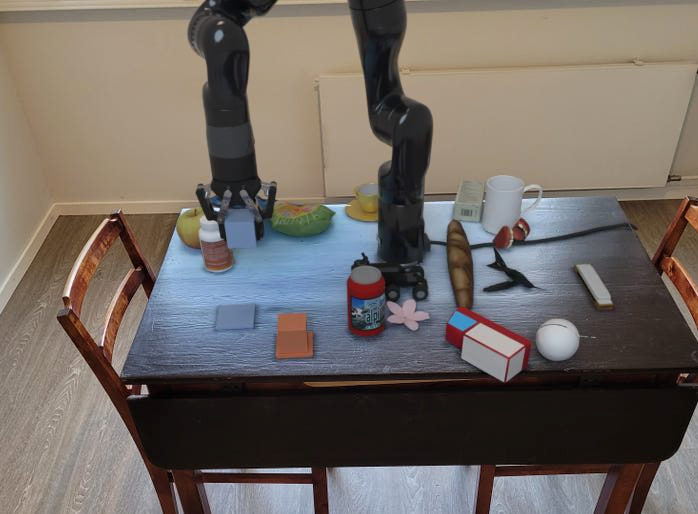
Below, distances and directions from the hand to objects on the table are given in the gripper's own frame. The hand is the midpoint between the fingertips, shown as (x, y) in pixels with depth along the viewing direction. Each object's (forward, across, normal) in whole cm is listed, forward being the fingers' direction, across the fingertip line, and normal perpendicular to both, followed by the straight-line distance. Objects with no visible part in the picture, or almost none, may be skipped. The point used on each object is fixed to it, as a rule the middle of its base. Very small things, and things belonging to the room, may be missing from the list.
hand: (243, 238), depth 124 cm
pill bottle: (+16, -8, +17) cm, 25 cm away
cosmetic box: (+13, +46, +31) cm, 57 cm away
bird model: (+14, +52, +12) cm, 55 cm away
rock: (+4, -3, +31) cm, 32 cm away
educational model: (+10, +3, +36) cm, 38 cm away
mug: (+15, +56, +28) cm, 64 cm away
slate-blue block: (0, 0, 0) cm, 0 cm away
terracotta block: (+15, +8, -11) cm, 21 cm away
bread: (+15, +42, +11) cm, 46 cm away
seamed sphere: (+12, +53, -22) cm, 58 cm away
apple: (+15, -12, +26) cm, 33 cm away
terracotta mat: (+16, +8, -11) cm, 21 cm away
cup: (+15, +25, +38) cm, 49 cm away
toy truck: (+13, +44, -14) cm, 47 cm away
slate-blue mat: (+16, -3, -2) cm, 16 cm away
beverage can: (+16, +22, -7) cm, 28 cm away
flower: (+16, +29, -5) cm, 33 cm away
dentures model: (+13, +51, +17) cm, 55 cm away
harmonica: (+15, +66, +2) cm, 68 cm away
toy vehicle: (+16, +27, +5) cm, 31 cm away
